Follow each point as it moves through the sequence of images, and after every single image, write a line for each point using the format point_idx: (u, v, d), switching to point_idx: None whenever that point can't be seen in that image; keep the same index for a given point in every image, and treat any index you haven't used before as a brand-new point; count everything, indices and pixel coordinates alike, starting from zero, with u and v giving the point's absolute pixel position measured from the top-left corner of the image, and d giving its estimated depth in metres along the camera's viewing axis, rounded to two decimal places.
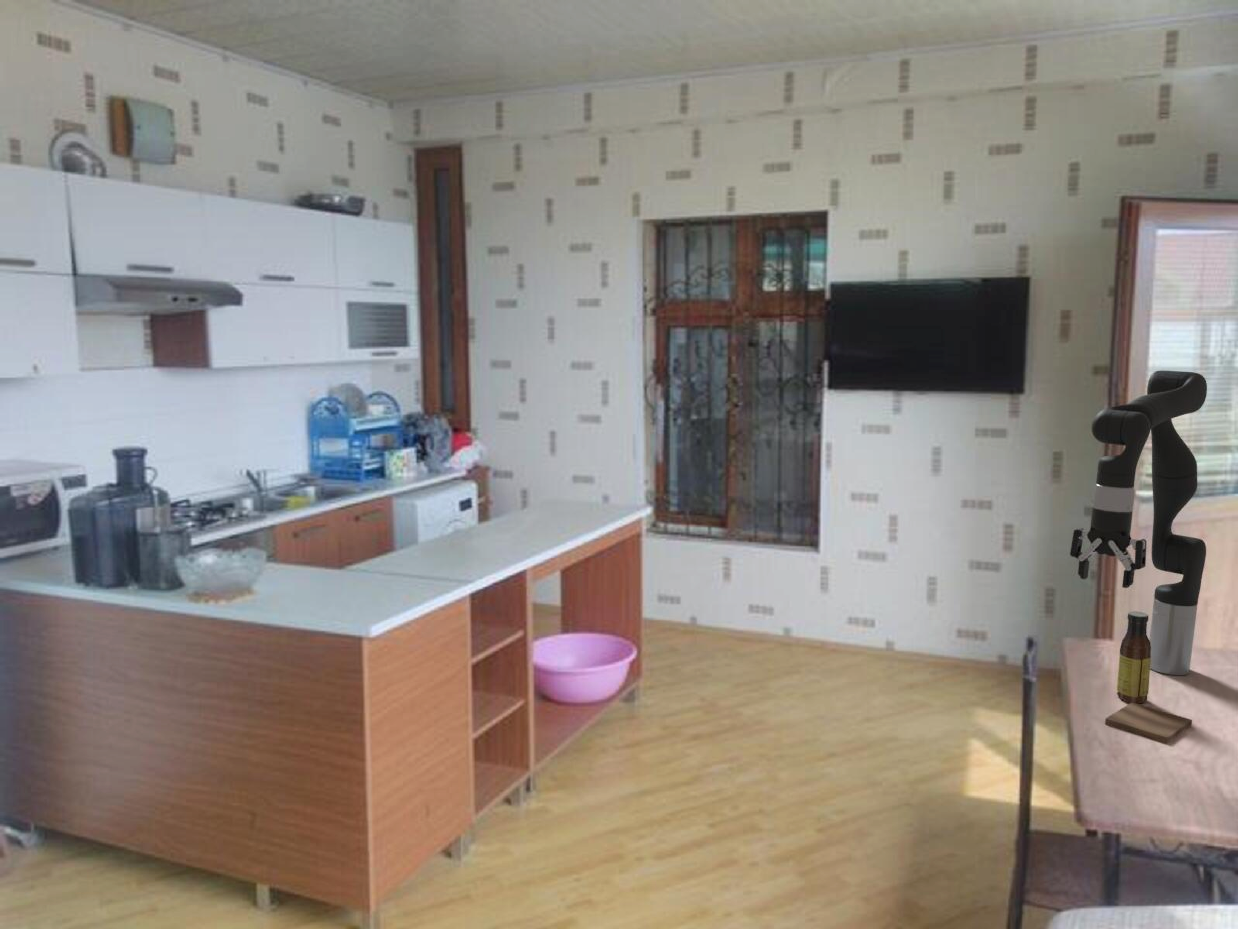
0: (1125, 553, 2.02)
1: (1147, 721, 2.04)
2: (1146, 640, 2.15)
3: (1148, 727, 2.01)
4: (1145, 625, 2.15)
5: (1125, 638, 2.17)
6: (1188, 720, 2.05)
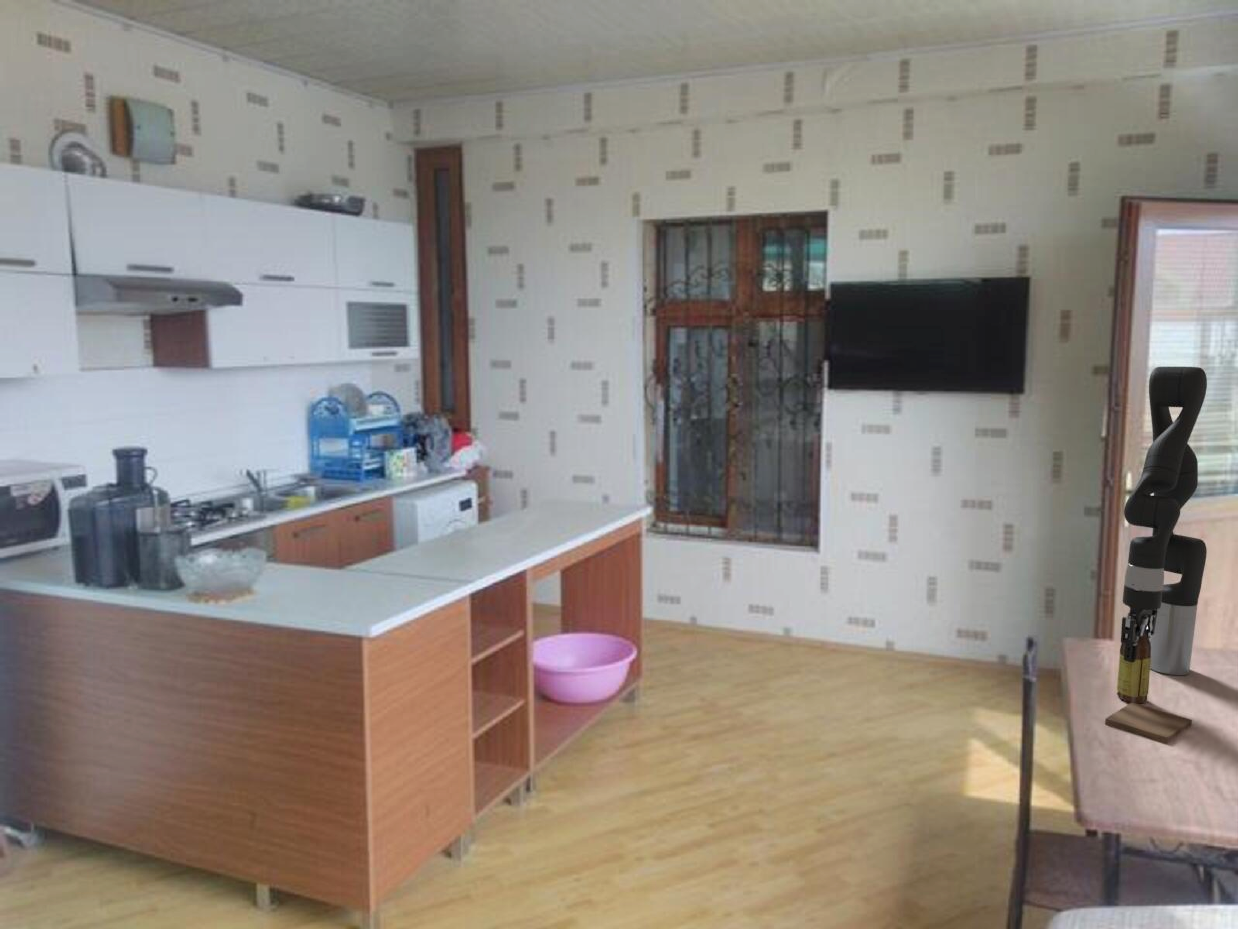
0: None
1: (1147, 721, 2.04)
2: (1146, 640, 2.15)
3: (1148, 727, 2.01)
4: None
5: None
6: (1188, 720, 2.05)
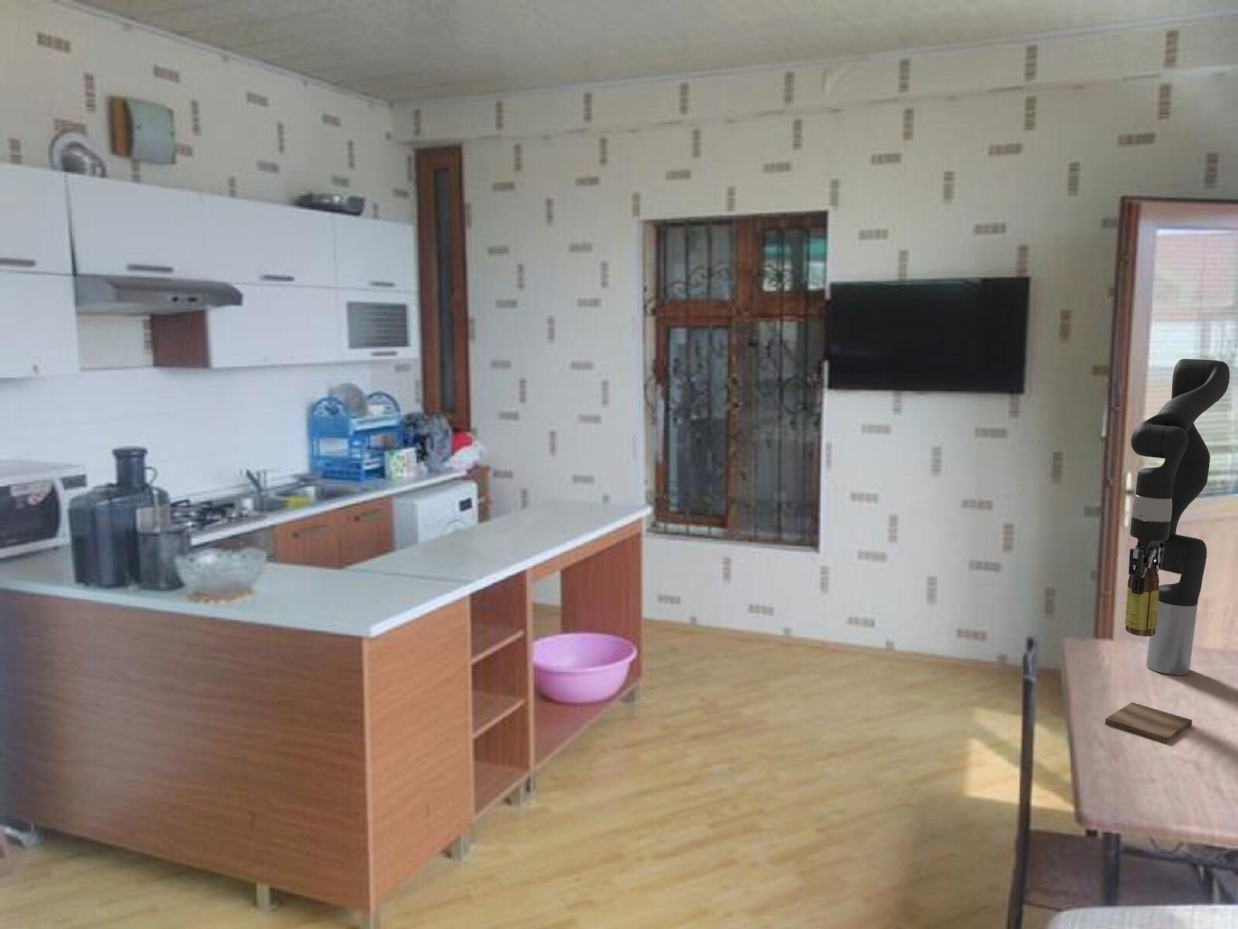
0: None
1: (1147, 721, 2.04)
2: (1154, 572, 2.13)
3: (1148, 727, 2.01)
4: (1153, 557, 2.13)
5: None
6: (1188, 720, 2.05)
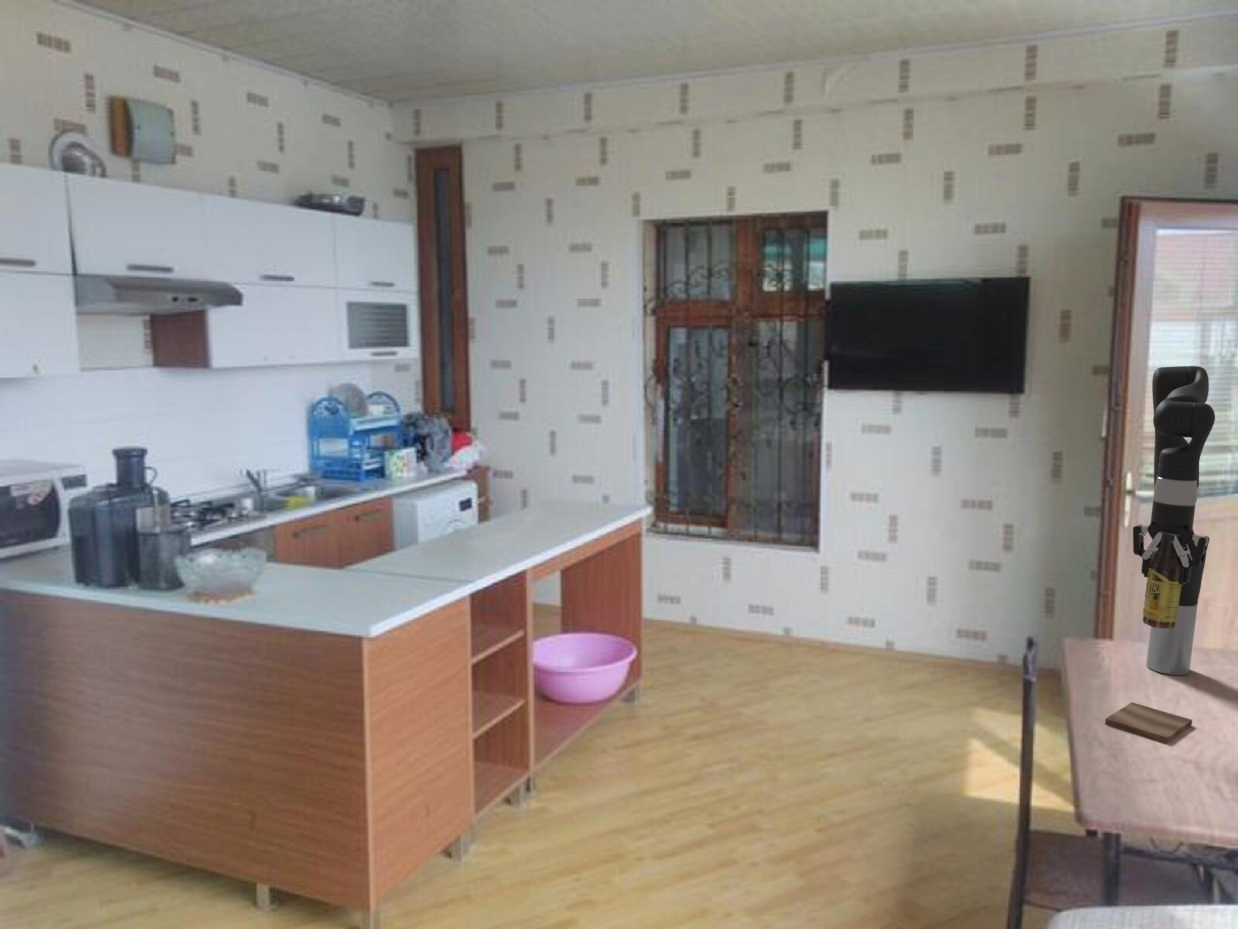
0: None
1: (1147, 721, 2.04)
2: None
3: (1148, 727, 2.01)
4: None
5: (1174, 562, 1.97)
6: (1188, 720, 2.05)
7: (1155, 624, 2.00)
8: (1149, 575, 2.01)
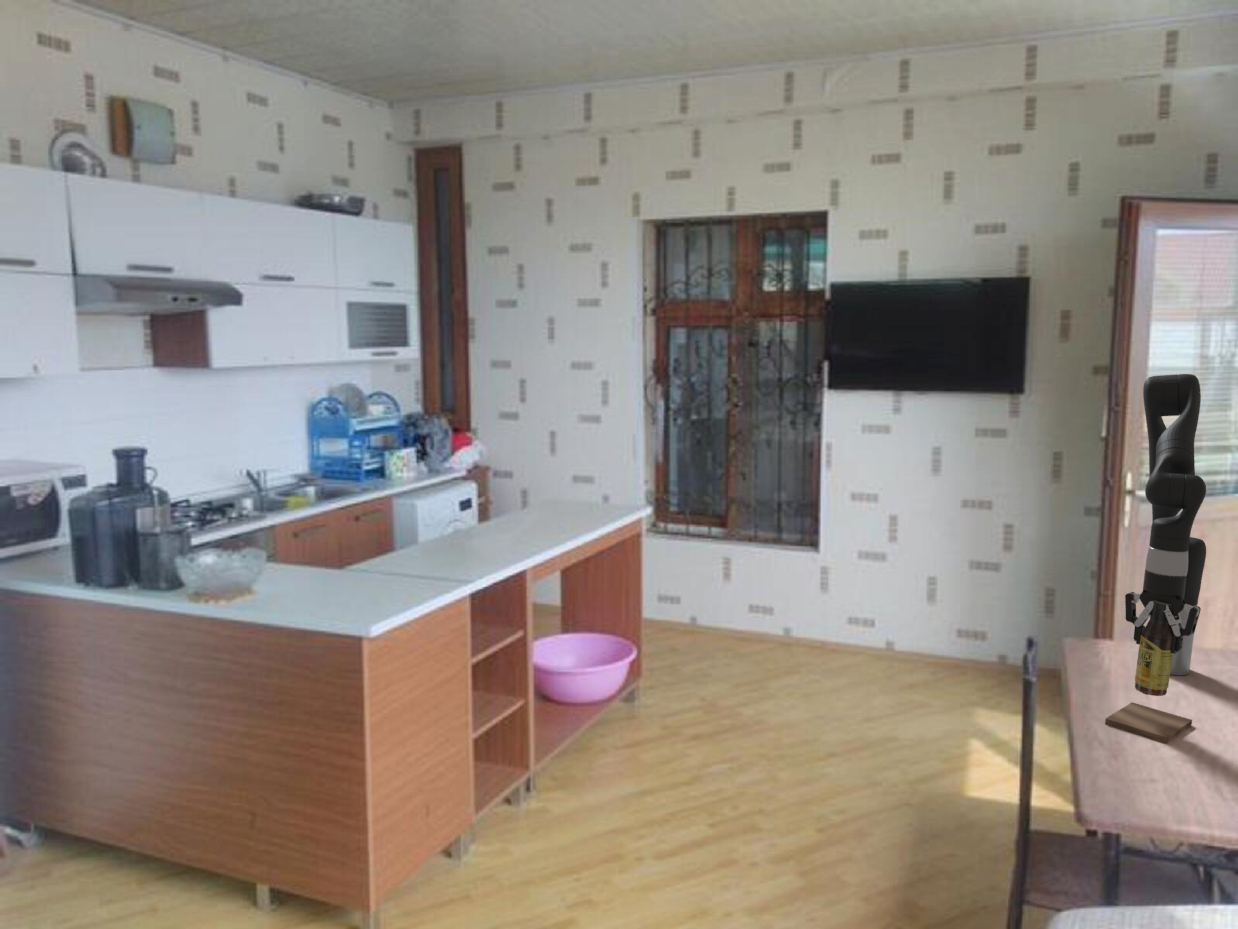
0: None
1: (1147, 721, 2.04)
2: None
3: (1148, 727, 2.01)
4: None
5: (1165, 631, 2.00)
6: (1188, 720, 2.05)
7: (1147, 691, 2.02)
8: (1141, 643, 2.03)
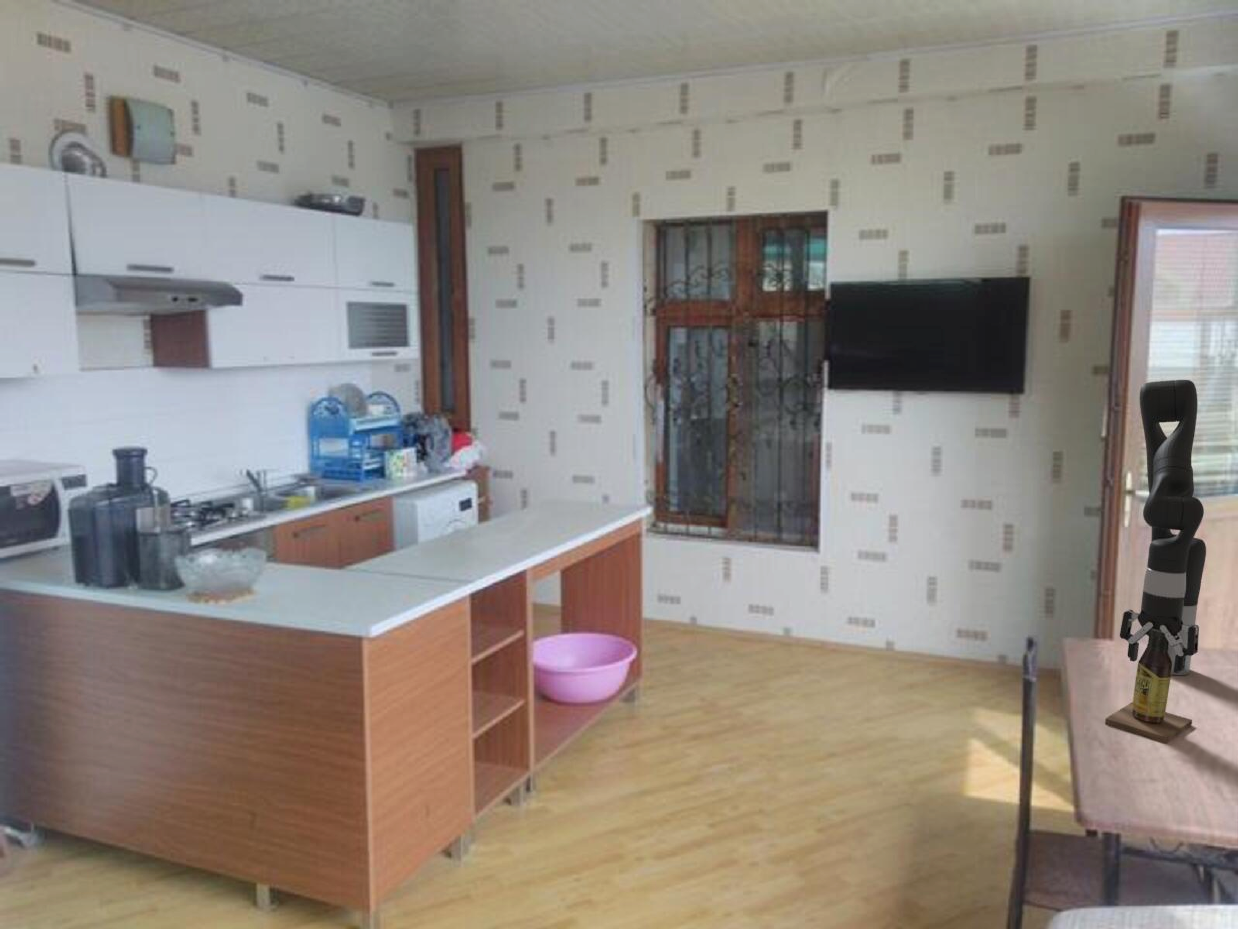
0: None
1: None
2: None
3: (1148, 727, 2.01)
4: None
5: (1163, 659, 2.00)
6: (1188, 720, 2.05)
7: (1144, 718, 2.03)
8: (1138, 670, 2.04)
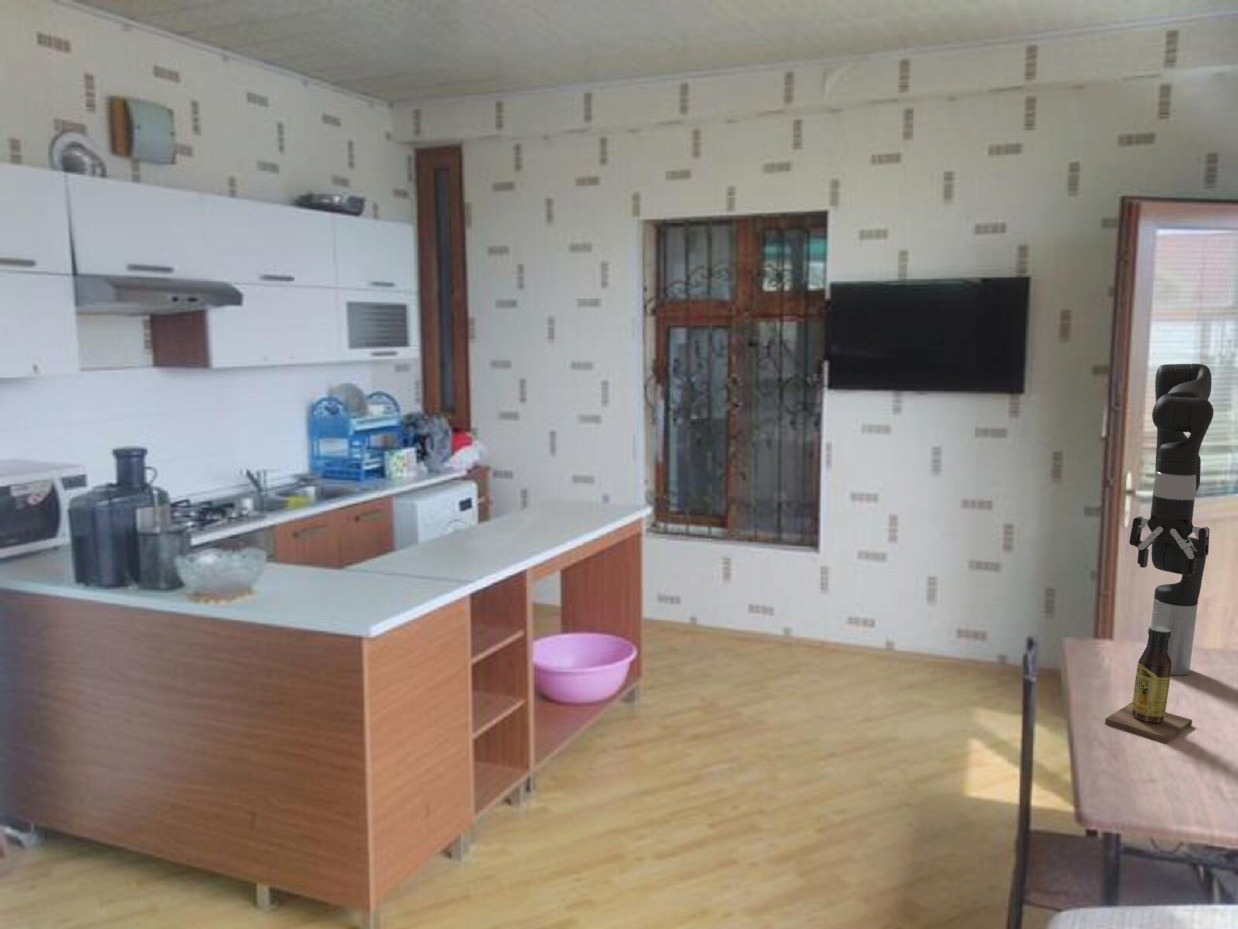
0: None
1: None
2: None
3: (1148, 727, 2.01)
4: None
5: (1162, 658, 2.01)
6: (1188, 720, 2.05)
7: (1144, 718, 2.03)
8: (1138, 670, 2.04)
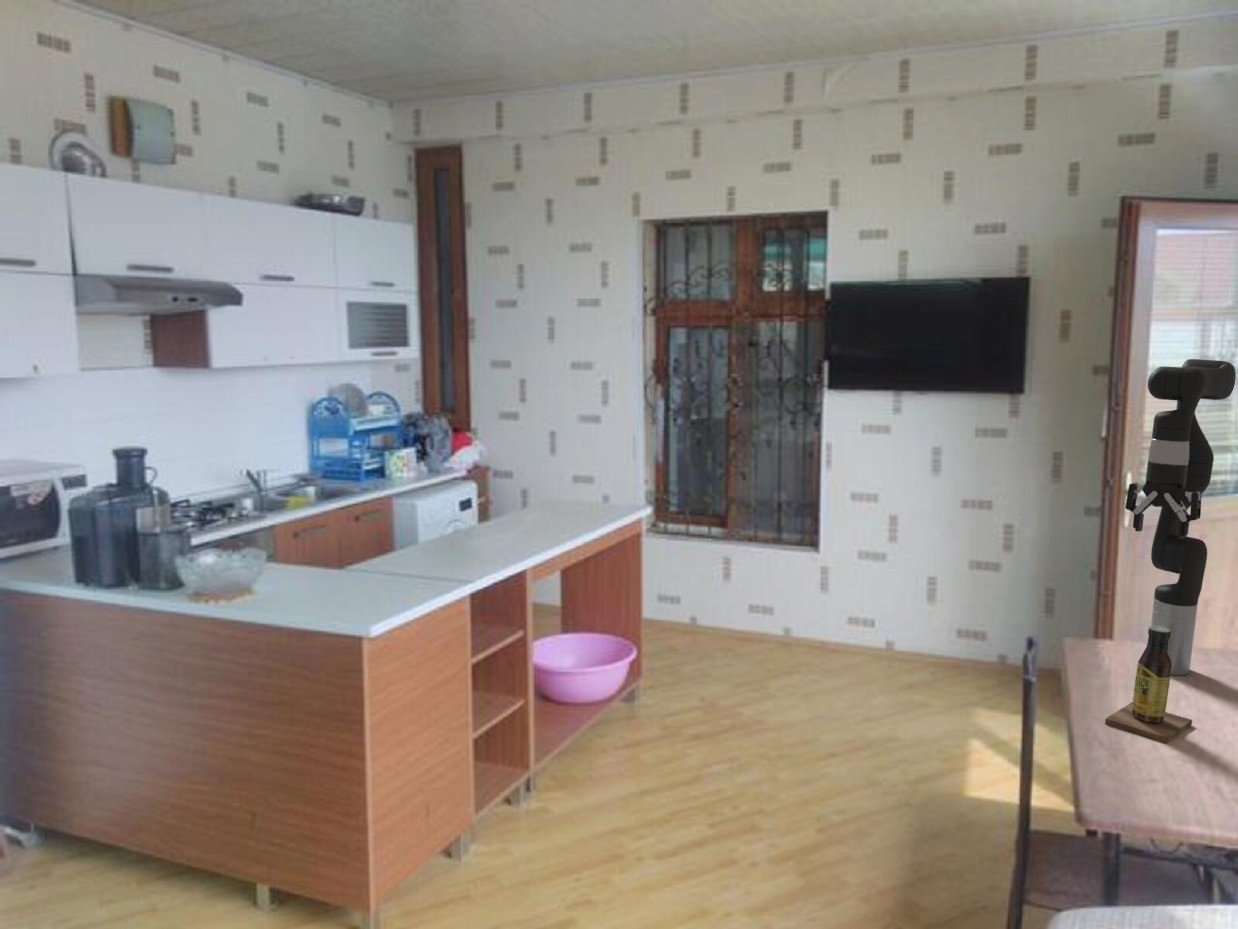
0: None
1: None
2: None
3: (1148, 727, 2.01)
4: None
5: (1162, 658, 2.01)
6: (1188, 720, 2.05)
7: (1144, 718, 2.03)
8: (1138, 670, 2.04)
